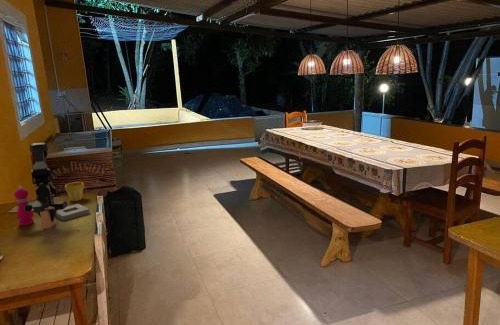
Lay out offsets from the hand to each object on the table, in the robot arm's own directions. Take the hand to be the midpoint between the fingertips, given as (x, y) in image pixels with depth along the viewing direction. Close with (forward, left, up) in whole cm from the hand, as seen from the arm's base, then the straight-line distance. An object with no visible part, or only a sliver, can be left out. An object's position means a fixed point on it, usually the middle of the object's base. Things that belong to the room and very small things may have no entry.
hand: (48, 222), depth 181 cm
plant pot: (-42, -4, -2) cm, 42 cm away
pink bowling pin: (-5, -14, -2) cm, 15 cm away
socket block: (-16, +4, -2) cm, 17 cm away
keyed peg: (0, 0, -2) cm, 2 cm away
